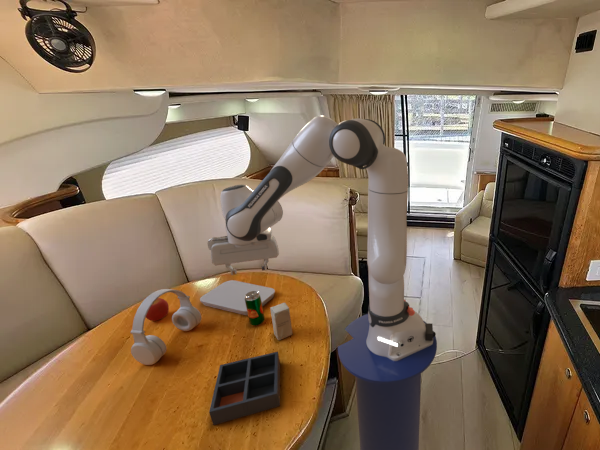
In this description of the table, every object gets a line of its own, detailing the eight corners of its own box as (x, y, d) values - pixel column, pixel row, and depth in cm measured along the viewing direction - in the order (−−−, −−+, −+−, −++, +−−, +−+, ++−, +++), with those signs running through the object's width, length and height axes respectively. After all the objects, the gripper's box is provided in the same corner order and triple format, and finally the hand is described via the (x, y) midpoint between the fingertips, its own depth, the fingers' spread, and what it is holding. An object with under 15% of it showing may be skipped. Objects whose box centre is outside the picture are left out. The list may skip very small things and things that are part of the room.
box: (278, 341, 105) (273, 313, 101) (274, 334, 108) (269, 307, 104) (293, 334, 108) (289, 307, 104) (288, 327, 111) (284, 301, 107)
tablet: (229, 283, 138) (228, 279, 137) (278, 294, 131) (278, 289, 130) (197, 304, 124) (196, 299, 123) (250, 317, 116) (249, 312, 115)
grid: (280, 363, 96) (277, 351, 94) (279, 406, 82) (277, 393, 81) (223, 376, 91) (220, 364, 89) (213, 425, 77) (209, 412, 76)
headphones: (158, 367, 94) (139, 315, 87) (134, 365, 95) (112, 312, 88) (205, 324, 113) (192, 278, 106) (184, 322, 114) (169, 276, 107)
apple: (158, 325, 112) (152, 307, 109) (139, 323, 113) (133, 305, 110) (176, 312, 119) (170, 295, 116) (158, 310, 120) (152, 293, 117)
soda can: (246, 325, 112) (240, 297, 108) (256, 316, 117) (250, 289, 112) (259, 327, 111) (253, 299, 107) (267, 318, 116) (262, 291, 111)
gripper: (204, 242, 95) (213, 281, 100) (275, 234, 102) (280, 271, 107) (208, 234, 101) (216, 272, 106) (275, 227, 107) (280, 263, 112)
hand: (249, 271), depth 106 cm, fingers open, 8 cm apart
